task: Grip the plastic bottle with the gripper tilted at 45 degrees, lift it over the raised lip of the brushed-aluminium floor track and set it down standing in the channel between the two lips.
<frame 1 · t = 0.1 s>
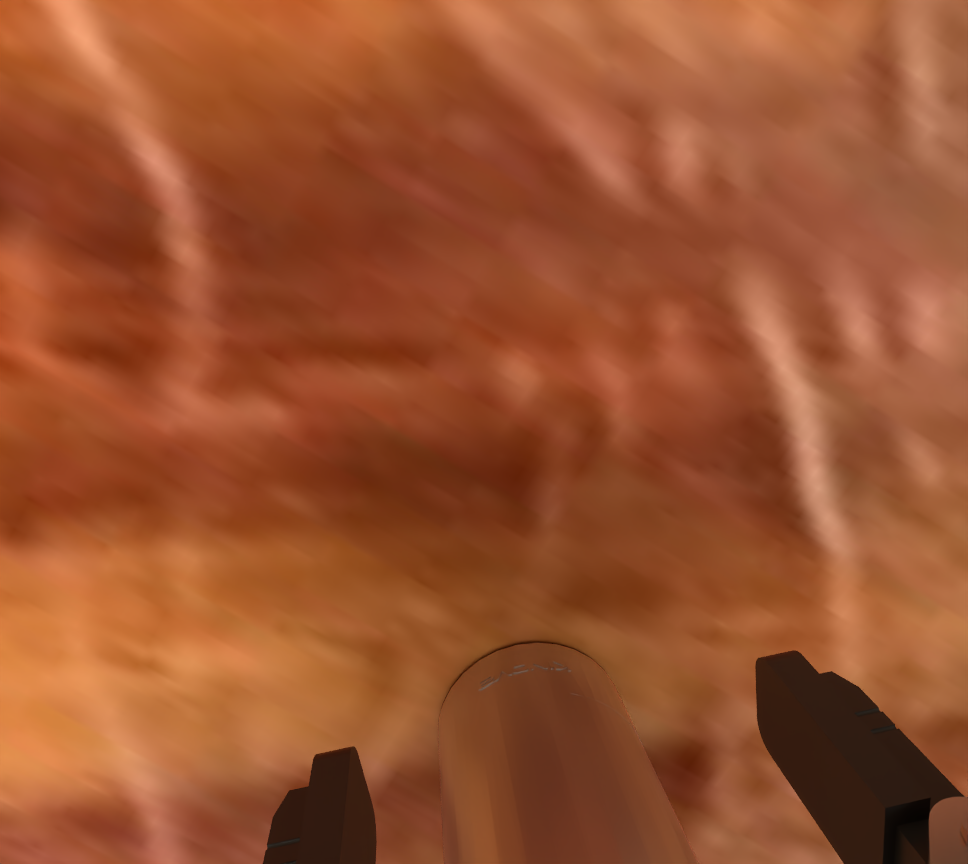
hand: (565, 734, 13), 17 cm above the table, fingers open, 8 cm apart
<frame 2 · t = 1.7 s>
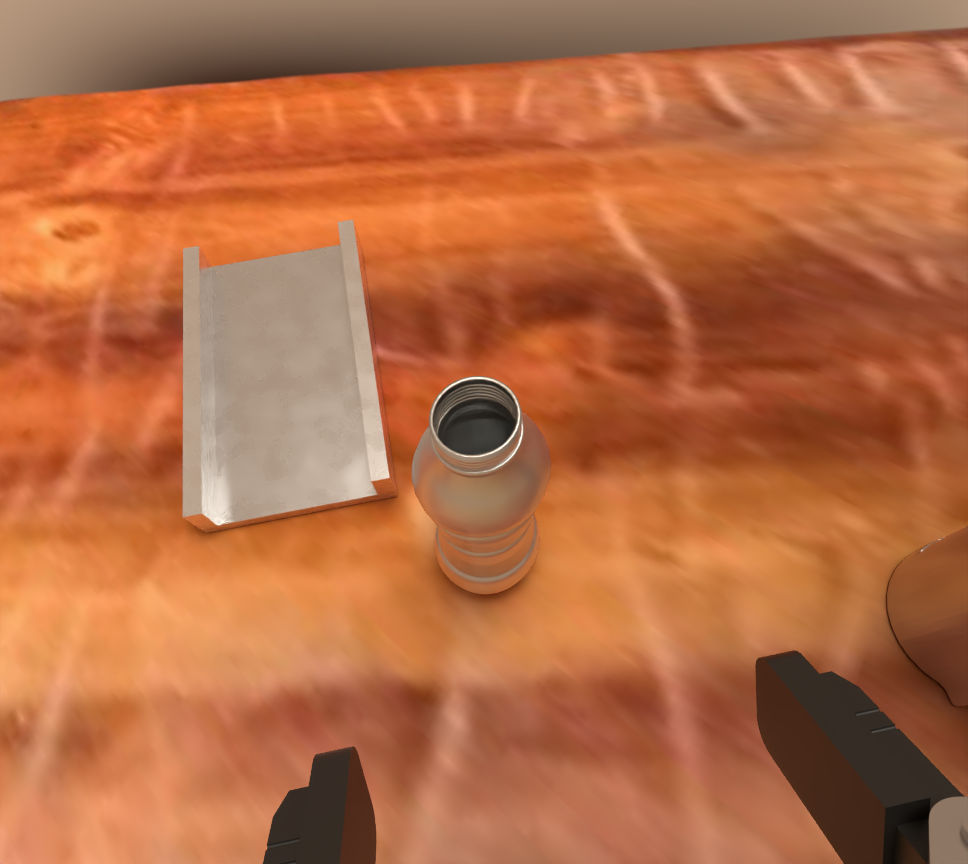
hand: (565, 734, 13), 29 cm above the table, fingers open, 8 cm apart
aluminium track: (291, 377, 50), on the table
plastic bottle: (488, 551, 44), on the table
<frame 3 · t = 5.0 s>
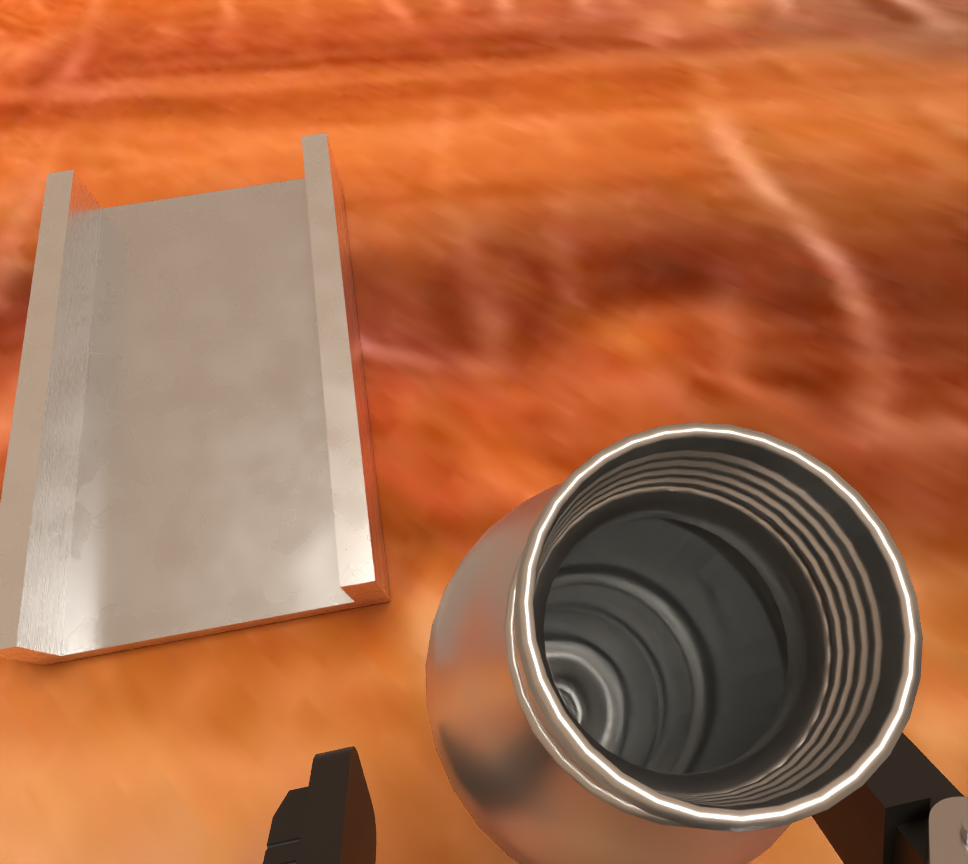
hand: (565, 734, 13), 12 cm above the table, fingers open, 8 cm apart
aluminium track: (218, 386, 30), on the table
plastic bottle: (554, 711, 24), on the table
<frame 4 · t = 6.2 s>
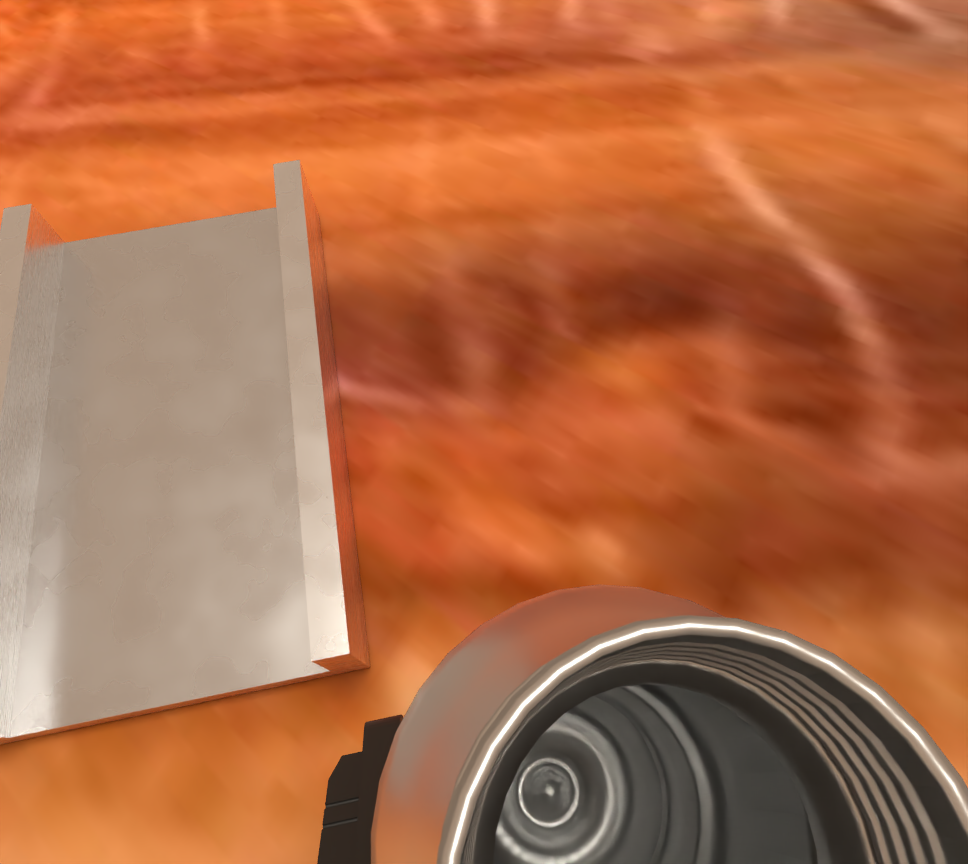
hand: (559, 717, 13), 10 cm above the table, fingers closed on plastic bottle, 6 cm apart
aluminium track: (186, 432, 28), on the table
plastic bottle: (549, 789, 22), on the table, touching gripper
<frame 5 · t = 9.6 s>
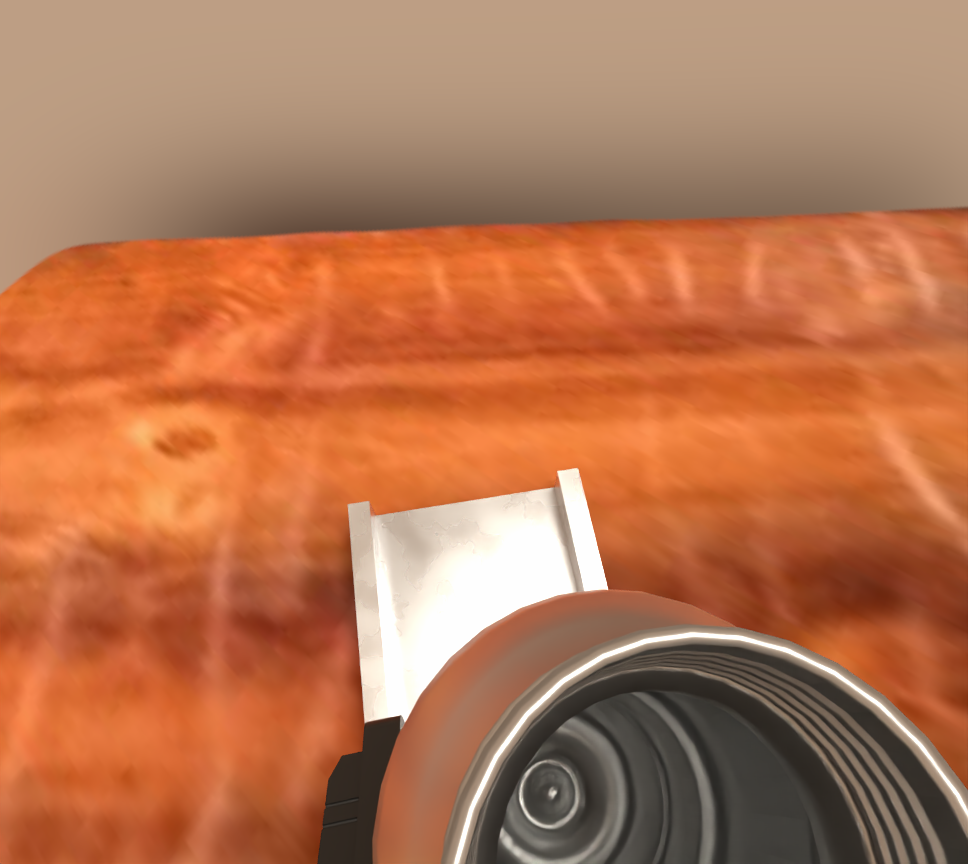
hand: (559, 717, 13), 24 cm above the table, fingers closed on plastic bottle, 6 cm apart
aluminium track: (496, 696, 36), on the table
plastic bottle: (550, 791, 22), point 14 cm above the table, touching gripper
when the fingers open (13 cm above the table, at t = 13.3 s): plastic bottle drops 1 cm, resting on aluminium track.
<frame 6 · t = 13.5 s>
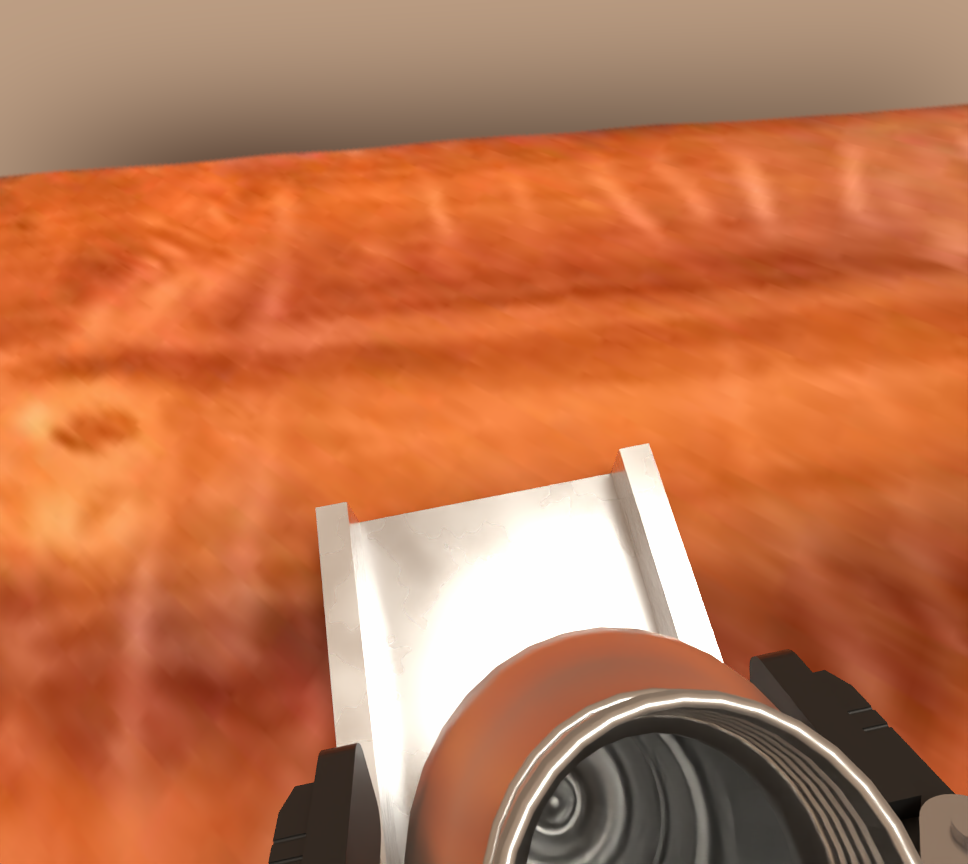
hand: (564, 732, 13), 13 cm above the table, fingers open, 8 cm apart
aluminium track: (545, 786, 24), on the table
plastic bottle: (553, 799, 23), point 1 cm above the table, touching aluminium track
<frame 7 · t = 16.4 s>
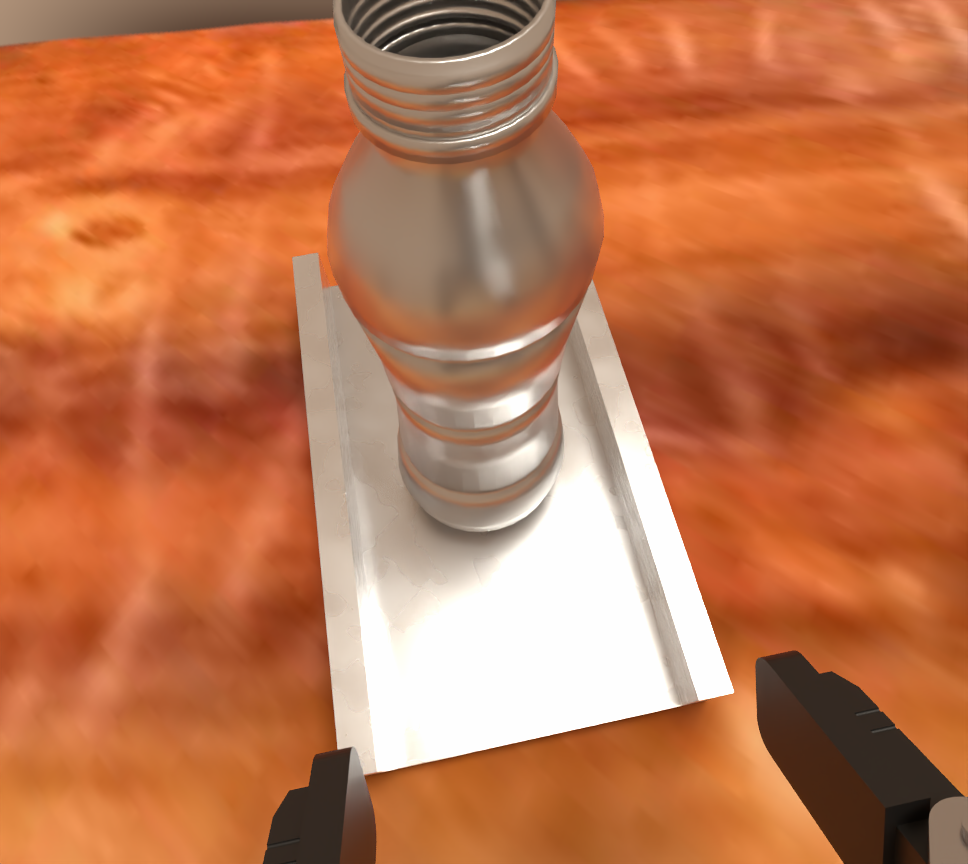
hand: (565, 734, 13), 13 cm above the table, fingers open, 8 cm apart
aluminium track: (479, 472, 30), on the table
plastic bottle: (483, 473, 29), point 1 cm above the table, touching aluminium track
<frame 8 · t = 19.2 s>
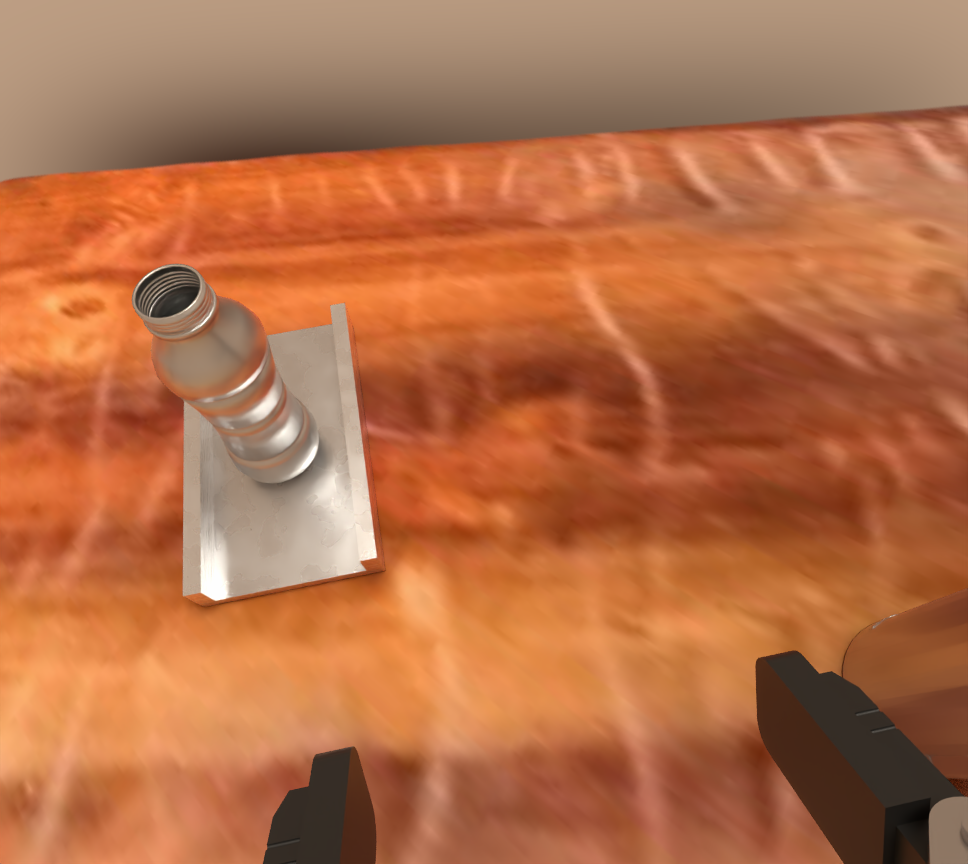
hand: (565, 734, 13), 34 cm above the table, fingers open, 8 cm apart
aluminium track: (286, 453, 53), on the table
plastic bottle: (284, 453, 52), point 1 cm above the table, touching aluminium track
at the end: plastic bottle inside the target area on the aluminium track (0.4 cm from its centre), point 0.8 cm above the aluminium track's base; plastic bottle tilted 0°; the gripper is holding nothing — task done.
